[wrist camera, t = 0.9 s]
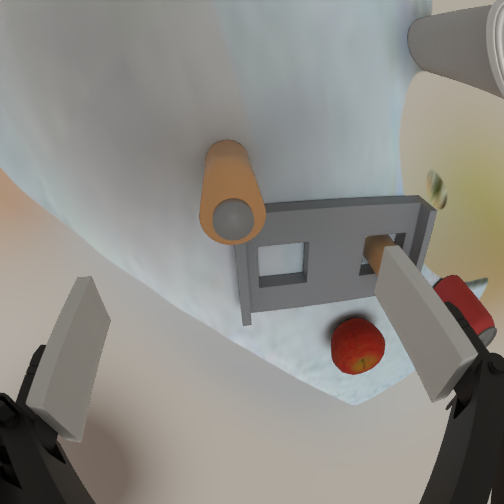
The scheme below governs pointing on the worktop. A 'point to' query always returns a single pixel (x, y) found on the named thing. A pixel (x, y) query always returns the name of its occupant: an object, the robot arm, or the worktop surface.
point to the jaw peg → (230, 195)
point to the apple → (357, 346)
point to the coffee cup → (463, 46)
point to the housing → (331, 249)
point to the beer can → (467, 306)
